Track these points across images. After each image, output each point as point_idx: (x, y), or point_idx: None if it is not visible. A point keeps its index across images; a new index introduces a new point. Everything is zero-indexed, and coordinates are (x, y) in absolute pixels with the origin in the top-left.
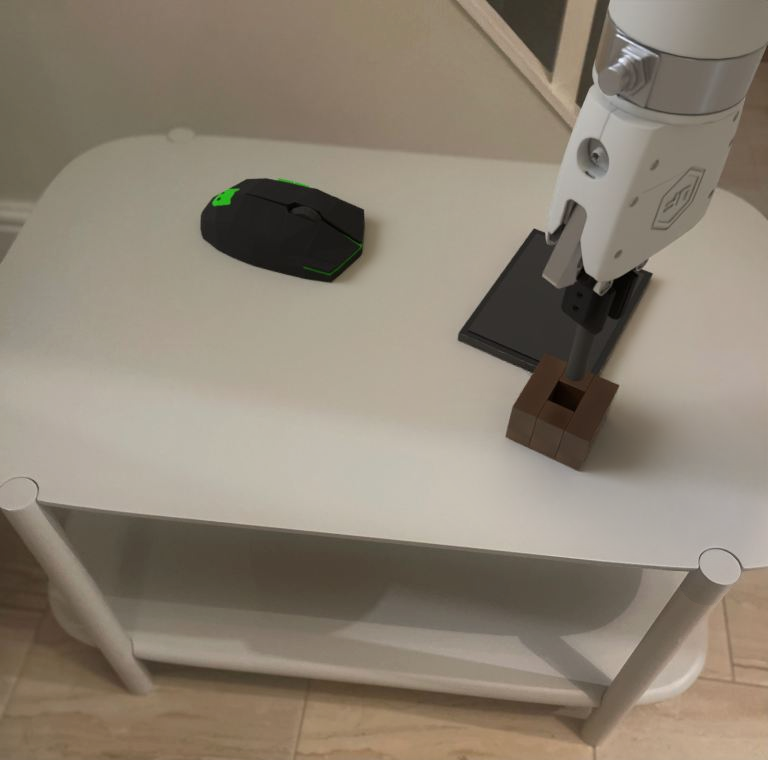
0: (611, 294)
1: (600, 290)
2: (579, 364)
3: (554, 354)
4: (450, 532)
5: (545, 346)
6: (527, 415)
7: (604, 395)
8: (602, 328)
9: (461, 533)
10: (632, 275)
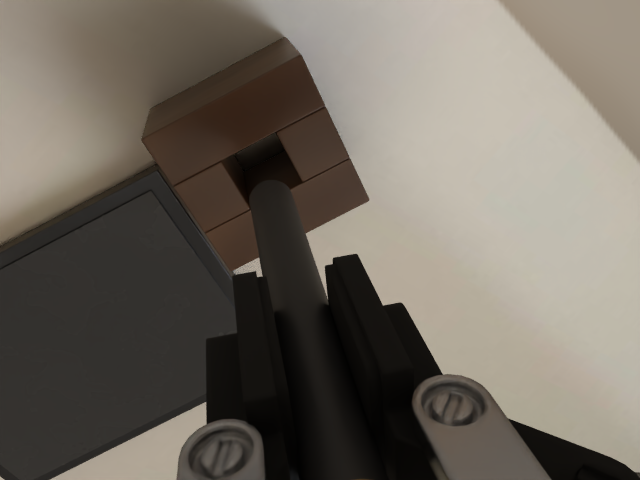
0: (407, 366)
1: (489, 400)
2: (294, 210)
3: (168, 263)
4: (538, 61)
5: (172, 284)
6: (356, 172)
7: (191, 134)
8: (339, 263)
9: (528, 49)
10: (266, 409)
